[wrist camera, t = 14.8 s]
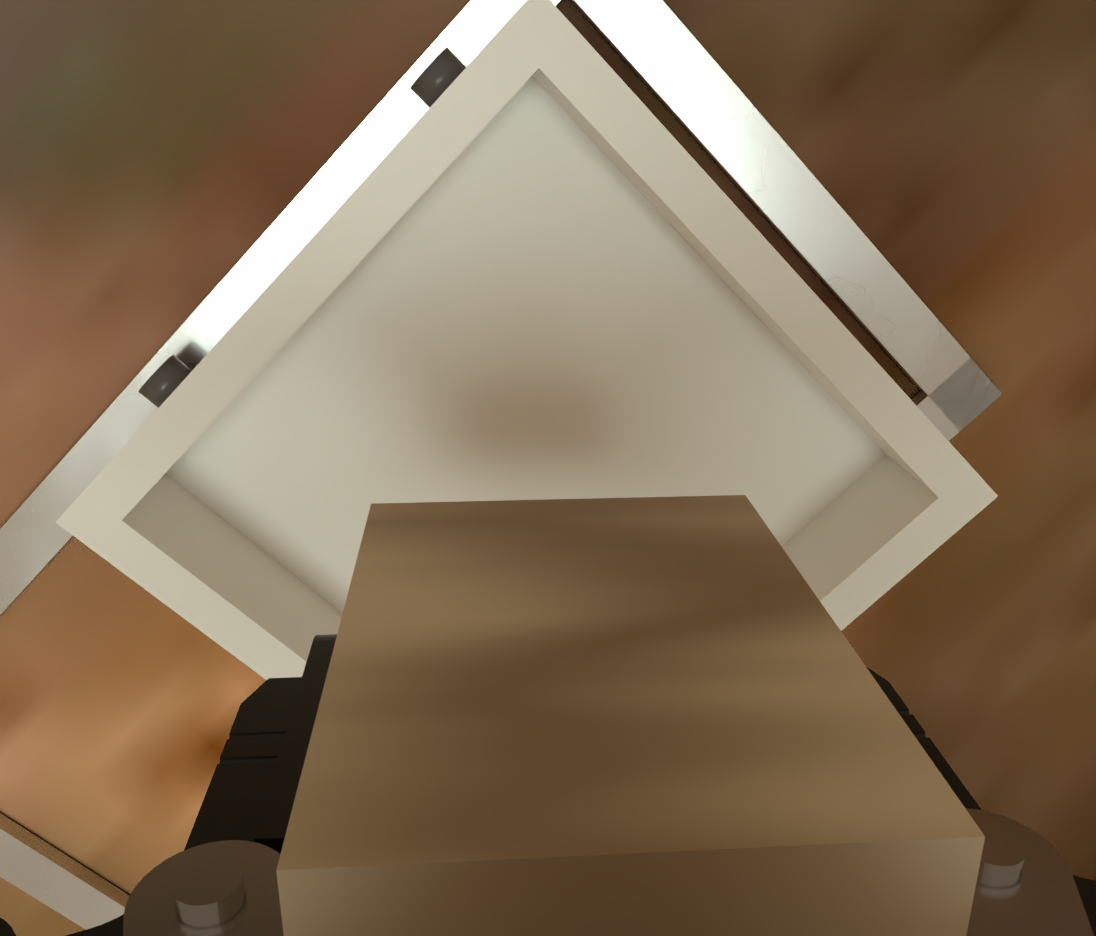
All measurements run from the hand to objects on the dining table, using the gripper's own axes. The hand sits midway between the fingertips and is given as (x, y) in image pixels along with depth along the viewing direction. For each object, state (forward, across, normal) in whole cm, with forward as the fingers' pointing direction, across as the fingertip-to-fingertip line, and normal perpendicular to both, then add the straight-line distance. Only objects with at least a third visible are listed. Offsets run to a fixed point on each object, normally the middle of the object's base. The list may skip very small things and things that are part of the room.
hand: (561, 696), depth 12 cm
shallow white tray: (+11, 0, 0) cm, 11 cm away
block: (+1, 0, 0) cm, 1 cm away
